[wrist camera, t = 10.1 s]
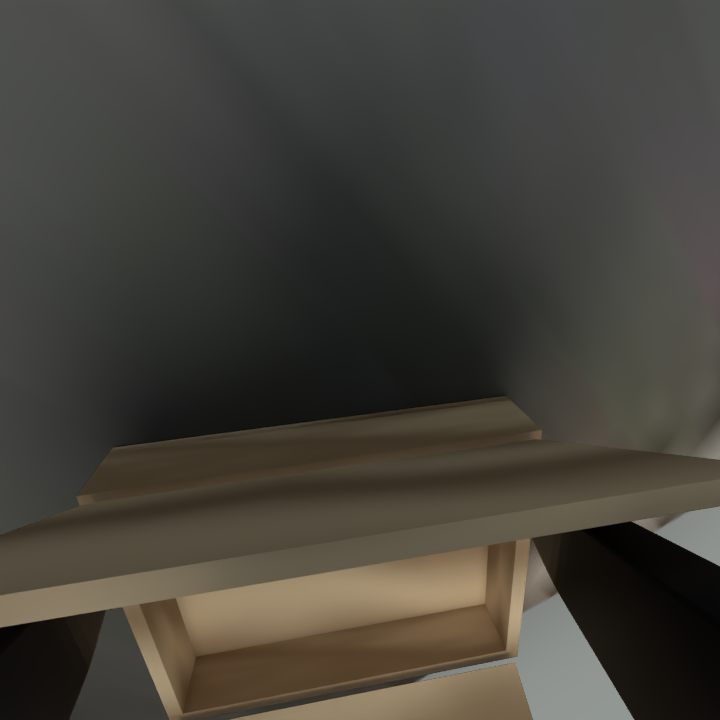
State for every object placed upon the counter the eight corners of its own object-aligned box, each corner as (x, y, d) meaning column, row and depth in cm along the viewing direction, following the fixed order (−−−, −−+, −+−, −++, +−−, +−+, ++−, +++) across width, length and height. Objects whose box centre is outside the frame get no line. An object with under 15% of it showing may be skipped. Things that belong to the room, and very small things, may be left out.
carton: (492, 602, 22) (517, 656, 19) (188, 658, 20) (171, 724, 18) (506, 395, 17) (542, 429, 15) (112, 447, 16) (75, 496, 13)
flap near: (796, 493, 6) (789, 467, 7) (-295, 677, 5) (-292, 641, 5) (538, 450, 14) (535, 439, 14) (85, 516, 13) (85, 503, 13)
